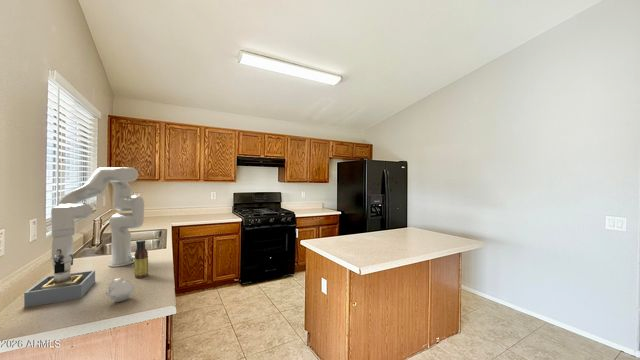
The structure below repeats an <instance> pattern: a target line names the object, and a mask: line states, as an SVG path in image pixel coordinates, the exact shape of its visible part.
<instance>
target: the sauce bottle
mask: <svg viewBox="0 0 640 360" xmlns="http://www.w3.org/2000/svg"><path fill="white" fill-rule="evenodd" d="M135 241H136V242H135V243H136V248H135V249H136V250H135V253H134V255H133V256H134V262H133V263H134V266H133V267H134V269H133V270H134V272H133V274H134V277H135V278H136V279H141V278H142V279H143V278H145V277H147V276H149V256H148V254H149V252H148V250H147V248H146V239H138V240H135Z"/></svg>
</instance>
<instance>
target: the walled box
mask: <svg viewBox="0 0 640 360" xmlns="http://www.w3.org/2000/svg"><path fill="white" fill-rule="evenodd" d="M70 273H71V276H75V275H82V274H83V281H82V282H81V284H79V285H72V286H65V287H58V288H51V289H44V290H41V287H42V286H44V285H45V284H46V283H47V282H49V281H50V280H51V279H53V278H54V275H47V276H45V278H42V279H41V280H40V281H39V282H37V283H36V284H35V285H33V286H32V287H30V288H29V289H28V290H26V291H25V292H23V293H24V295H23V300H24V308H29V307H28V306H30V307H34V306H42V305H48V304H54V303H60V302H64V301H72V300H78V299H82V298H83V297H84V295H86V294H87V292H88V291H89V290H90V289H91V288H92V286H93V285H94V284H95V283H96V270H94V269H93V270H88V271H79V272H70Z"/></svg>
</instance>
